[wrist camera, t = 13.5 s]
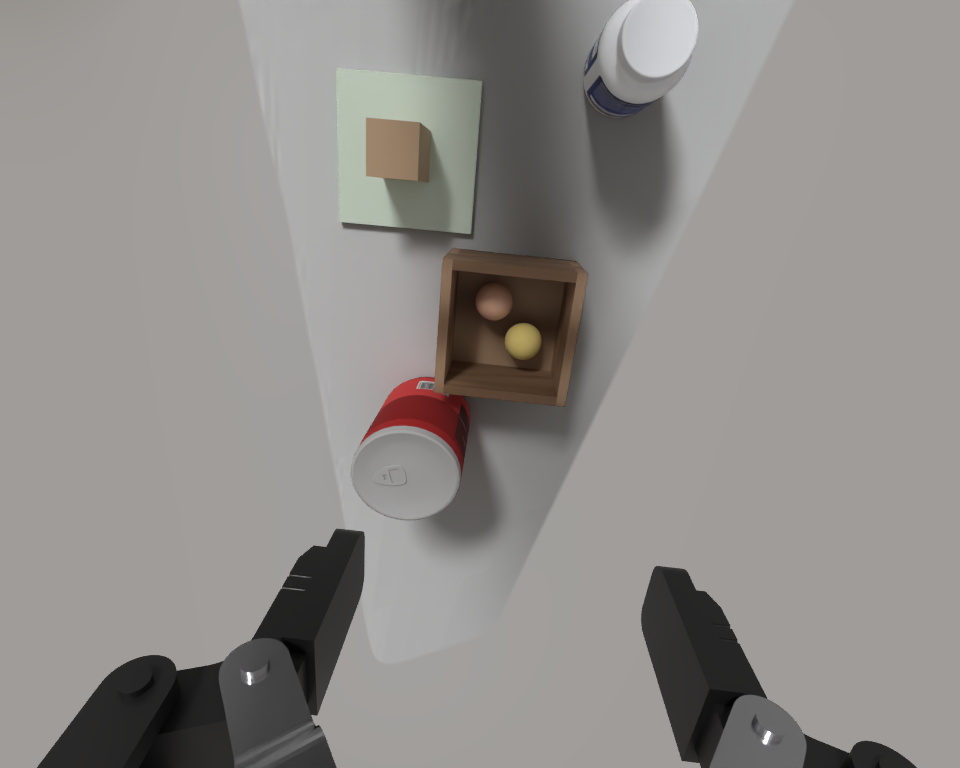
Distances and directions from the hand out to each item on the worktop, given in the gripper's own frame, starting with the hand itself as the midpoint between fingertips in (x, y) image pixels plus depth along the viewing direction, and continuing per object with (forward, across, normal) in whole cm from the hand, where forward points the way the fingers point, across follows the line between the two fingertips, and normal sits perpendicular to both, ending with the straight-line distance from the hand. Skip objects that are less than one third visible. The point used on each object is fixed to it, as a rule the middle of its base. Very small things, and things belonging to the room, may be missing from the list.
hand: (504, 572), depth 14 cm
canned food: (+30, +6, +10) cm, 32 cm away
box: (+30, 0, 0) cm, 30 cm away
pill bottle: (+30, -6, -18) cm, 36 cm away
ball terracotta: (+29, +1, -2) cm, 29 cm away
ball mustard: (+29, -2, +2) cm, 29 cm away
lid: (+31, +9, -12) cm, 34 cm away
